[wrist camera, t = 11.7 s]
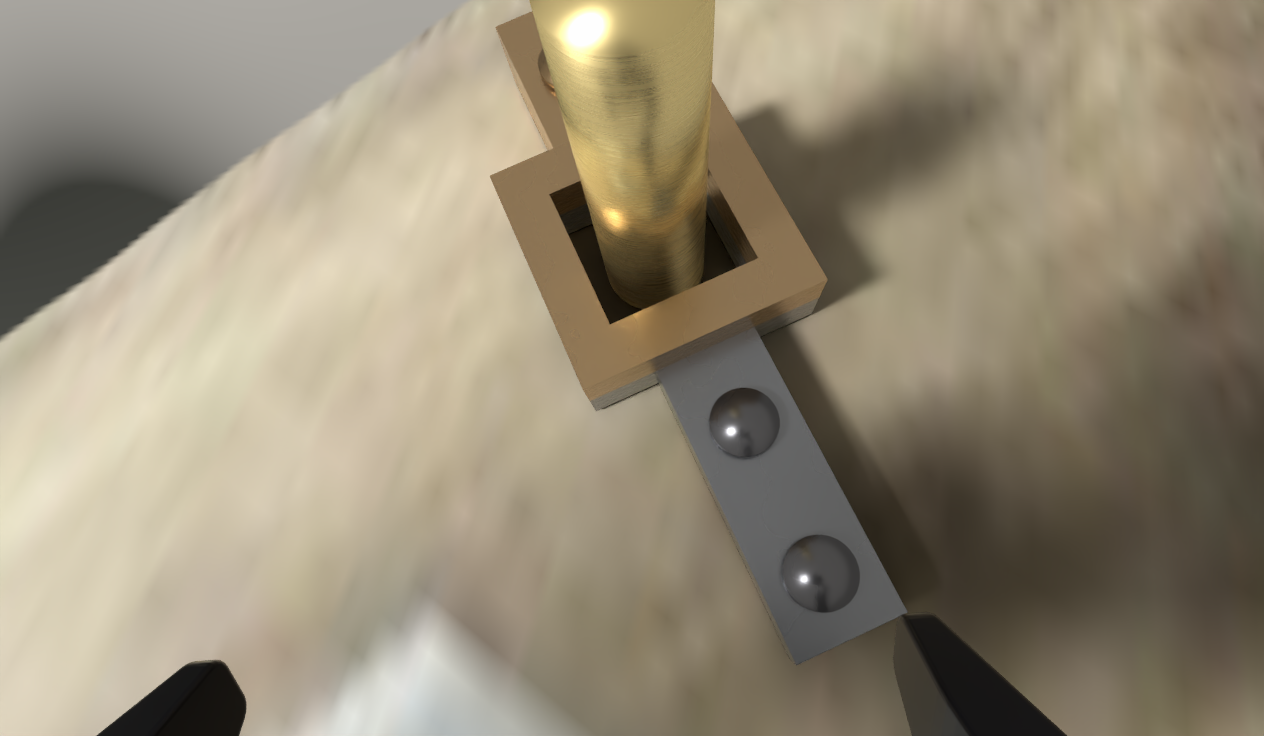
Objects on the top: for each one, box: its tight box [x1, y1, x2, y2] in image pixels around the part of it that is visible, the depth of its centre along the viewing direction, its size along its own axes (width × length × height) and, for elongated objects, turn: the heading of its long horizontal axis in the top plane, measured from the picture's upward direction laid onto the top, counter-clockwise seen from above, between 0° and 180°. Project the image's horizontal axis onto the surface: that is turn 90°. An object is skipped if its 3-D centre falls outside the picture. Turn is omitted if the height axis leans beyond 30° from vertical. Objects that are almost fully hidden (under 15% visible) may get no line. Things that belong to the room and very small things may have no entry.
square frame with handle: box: [490, 11, 907, 665], centre depth 23 cm, size 24×8×3 cm, turn 24°
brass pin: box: [529, 0, 715, 309], centre depth 19 cm, size 4×4×13 cm
